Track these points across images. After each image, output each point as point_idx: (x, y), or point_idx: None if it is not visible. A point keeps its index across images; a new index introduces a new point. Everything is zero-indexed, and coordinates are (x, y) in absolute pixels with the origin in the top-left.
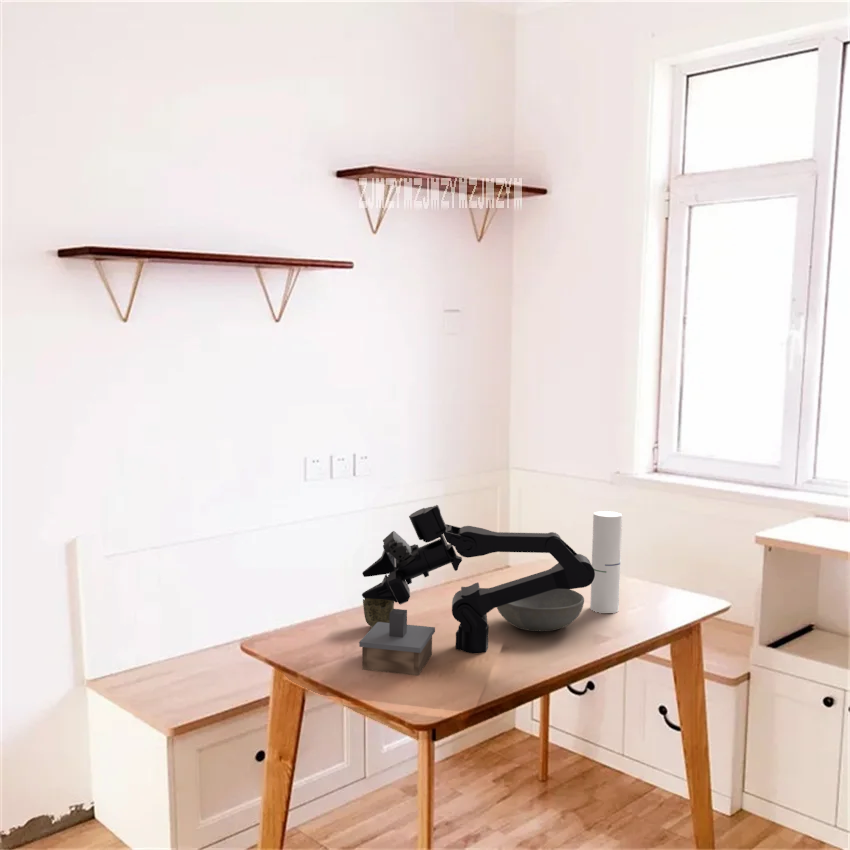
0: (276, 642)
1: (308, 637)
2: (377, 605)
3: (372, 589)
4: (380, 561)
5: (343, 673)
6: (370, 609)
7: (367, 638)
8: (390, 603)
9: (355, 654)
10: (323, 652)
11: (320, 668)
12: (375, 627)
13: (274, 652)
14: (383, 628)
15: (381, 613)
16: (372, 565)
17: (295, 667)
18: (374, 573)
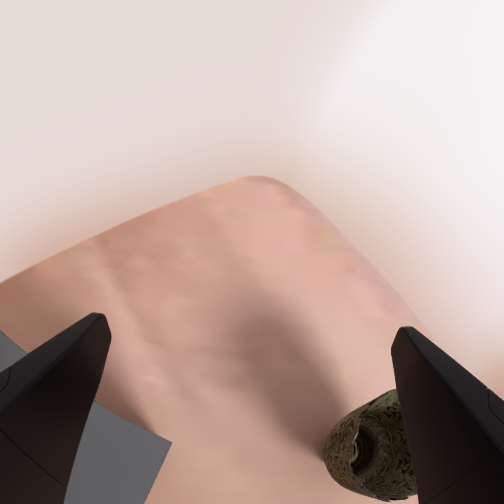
0: (273, 215)
1: (304, 276)
2: (353, 447)
3: (24, 356)
4: (490, 448)
5: (47, 319)
6: (351, 422)
7: (1, 352)
8: (369, 494)
9: (166, 377)
10: (196, 297)
11: (93, 275)
12: (101, 418)
13: (215, 204)
14: (83, 445)
15: (338, 463)
16: (459, 381)
17: (117, 229)
18: (412, 415)
